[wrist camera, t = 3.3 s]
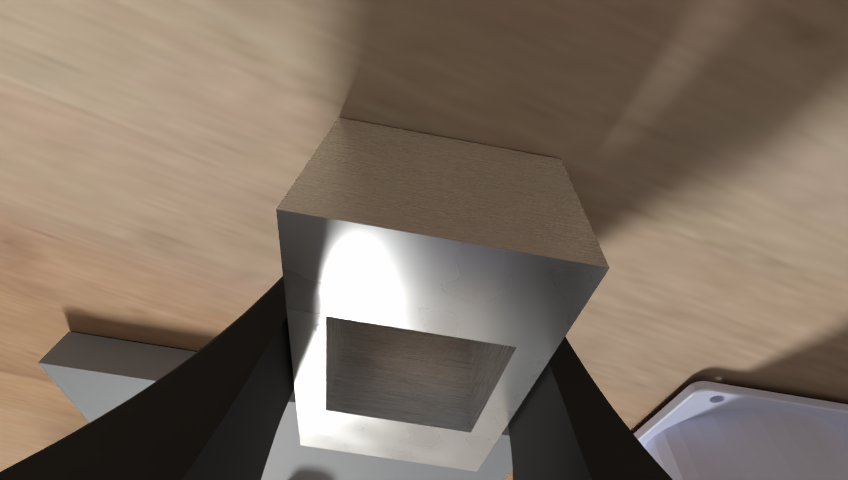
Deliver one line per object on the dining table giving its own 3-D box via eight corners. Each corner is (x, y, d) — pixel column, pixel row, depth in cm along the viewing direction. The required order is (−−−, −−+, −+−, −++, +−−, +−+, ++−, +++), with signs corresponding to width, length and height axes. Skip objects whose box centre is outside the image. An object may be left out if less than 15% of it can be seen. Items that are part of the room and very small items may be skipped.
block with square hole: (561, 159, 10) (609, 267, 6) (473, 361, 15) (477, 471, 12) (338, 117, 9) (275, 209, 6) (334, 338, 15) (300, 445, 12)
